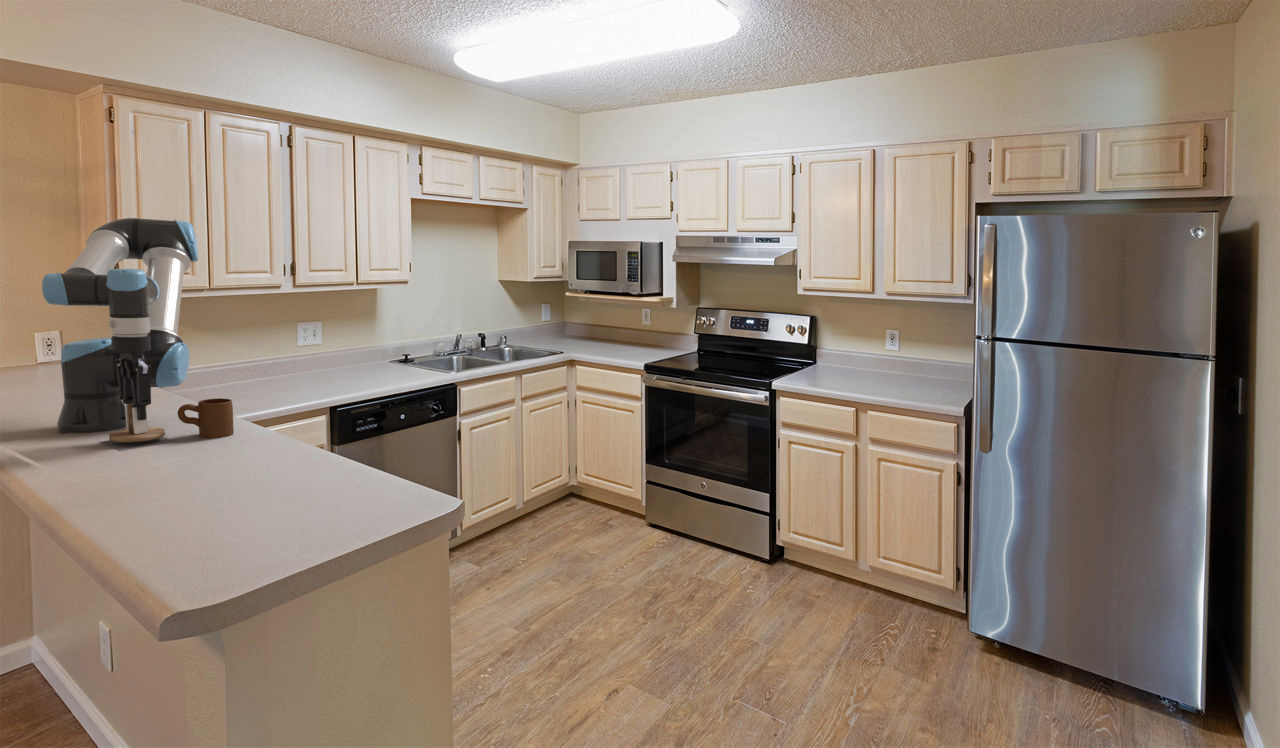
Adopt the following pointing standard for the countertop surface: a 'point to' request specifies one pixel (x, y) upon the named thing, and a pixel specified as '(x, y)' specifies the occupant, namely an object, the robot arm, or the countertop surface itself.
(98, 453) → the countertop surface
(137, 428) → the robot arm
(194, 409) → the mug
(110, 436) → the lid
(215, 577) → the countertop surface
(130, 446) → the mat
